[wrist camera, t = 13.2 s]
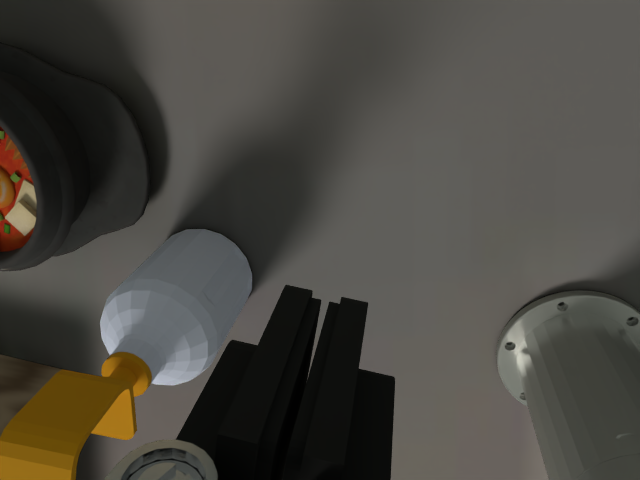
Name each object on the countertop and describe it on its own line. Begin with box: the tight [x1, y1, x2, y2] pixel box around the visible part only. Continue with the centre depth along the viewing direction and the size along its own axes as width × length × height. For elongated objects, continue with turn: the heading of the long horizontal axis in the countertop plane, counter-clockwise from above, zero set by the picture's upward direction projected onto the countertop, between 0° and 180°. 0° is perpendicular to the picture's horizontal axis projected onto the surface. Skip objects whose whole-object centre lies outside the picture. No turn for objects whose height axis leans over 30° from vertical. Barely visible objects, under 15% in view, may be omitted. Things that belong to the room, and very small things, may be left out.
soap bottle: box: [0, 229, 252, 480], centre depth 36 cm, size 9×9×25 cm
